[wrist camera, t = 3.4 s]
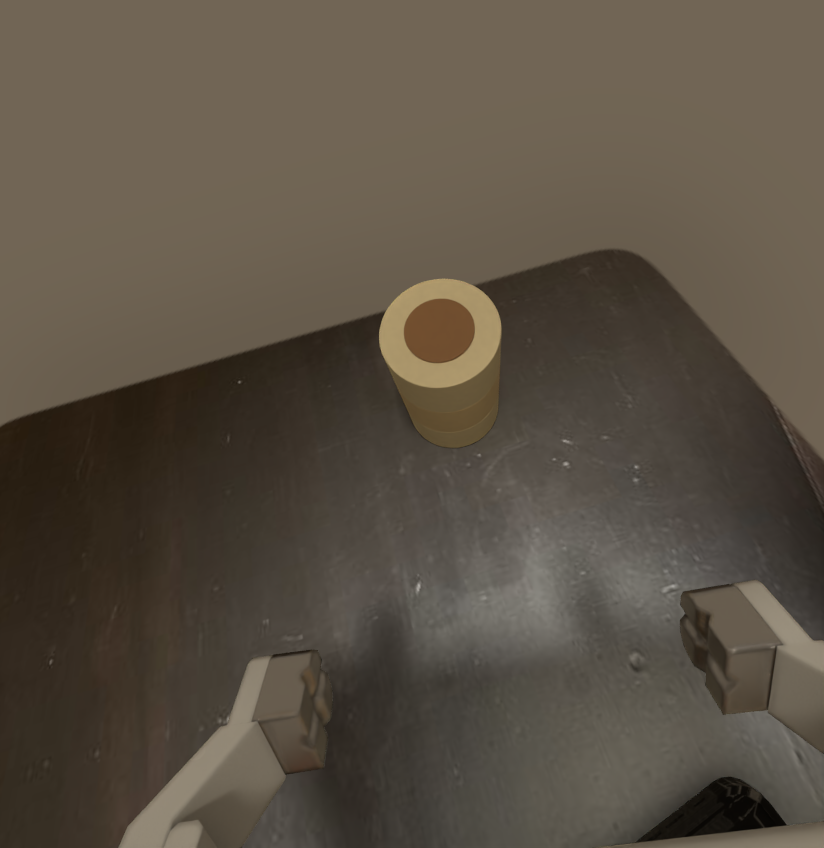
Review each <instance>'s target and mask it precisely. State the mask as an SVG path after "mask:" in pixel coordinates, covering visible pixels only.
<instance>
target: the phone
mask: <svg viewBox="0 0 824 848" xmlns="http://www.w3.org/2000/svg"><path fill="white" fill-rule="evenodd" d="M778 826H787V825H786V823H785V822H784V821H783V820H782V818H781V817H780V816H779V814H778V813H777V812H776V811H775V809H774V808H773V807H772V805H771V804H770V803H769V801H768V800H767V799H766V798H765V797H764V796H763V795H762V794H761V793H759V792H758V791H756V790H755V789H754V788H752V787H751V786H750V785H748V784H747V783H745V782H743V781H741V780H740V779H736V778H732V777H724V778H720V779H718V780H716V781H714V782H713V783H712V784H710V785H709V786H708V787H706V788H705V789H704V790H703V791H701V792H700V793H699V794H697V795H696V796H695V797H694V798H692V799H691V800H690V801H688V802H687V803H686V804H684V805H683V806H682V807H681V808H679V809H678V810H677V811H675V812H674V813H673V814H672V815H670V816H669V817H668V818H666V819H665V820H664V821H663V822H661V823H660V824H659V825H657V826H656V827H655V828H654V829H652V830H651V831H650V832H648V833H647V834H646V835H645V836H643V837H642V838H641V839H639V840H638V841H637V842H636V843H639V842H648V841H656V840H665V839H674V838H682V837H691V836H700V835H709V834H717V833H726V832H735V831H743V830H752V829H761V828H769V827H778Z"/></svg>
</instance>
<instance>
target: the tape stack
mask: <svg viewBox="0 0 824 848" xmlns="http://www.w3.org/2000/svg"><path fill="white" fill-rule="evenodd" d="M379 342H380V348H381V352H382V355H383V357H384V359H385V361H386V364H387V366H388V368H389V370H390V373H391V375H392V377H393V379H394V382H395V384H396V386H397V388H398V391H399V393H400V395H401V397H402V400H403V402H404V404H405V406H406V409H407V411H408V413H409V415H410V418H411V420H412V422H413V424H414V426H415V428H416V429H417V431H418V432H419V433H420V434H421V435H422V436H423V437H424V438H425V439H426V440H428V441H429V442H431V443H433V444H435V445H438V446H441V447H446V448H459V447H465V446H468V445H471V444H473V443H475V442H477V441H478V440H480V439H481V438H482V437H484V436H485V435H486V434H487V433H488V432H489V430H490V429H491V428H492V426H493V424H494V422H495V420H496V417H497V413H498V402H499V377H500V353H501V321H500V317H499V314H498V311H497V309H496V307H495V306H494V304H493V302H492V301H491V300H490V299H489V297H488V296H487V295H485V294H484V293H483V292H482V291H481V290H479V289H478V288H476V287H474V286H473V285H471V284H468V283H466V282H463V281H459V280H453V279H435V280H430V281H425V282H422V283H419V284H417V285H415V286H413V287H411V288H409V289H407V290H406V291H404V292H403V293H402V294H400V295H399V296H398V297H397V298H396V299H395V300H394V301H393V302H392V304H391V305H390V306H389V308H388V309H387V311H386V312H385V315H384V317H383V319H382V322H381V326H380V332H379Z"/></svg>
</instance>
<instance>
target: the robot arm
mask: <svg viewBox="0 0 824 848" xmlns="http://www.w3.org/2000/svg"><path fill="white" fill-rule="evenodd" d="M680 605H681V607H682V608H683V610H684V612H685V613H686V614H685V615H684V616H683V617H682V618H681V620H680V633H681V637H682V641H683V645H684V647H685V649H686V652H687V654H688V656H689V658H690V660H691V661H692V663H693V665H694V666H695V667H697V668H698V669H700V670H701V671H703V672H705V673H706V679H705V685H706V687H707V689H708V690H709V692H710V694H711V695H712V697H713V699H714V700H715V702H716V704H717V705H718V707H719V709H720V710H721V712H722V714H723V715H726V714H735V713H745V712H754V711H764V710H768V713H769V714H771V715H772V716H773V717H775V718H776V719H777V720H779V721H780V722H781V723H783V724H784V725H785V726H787V727H788V728H789V729H791V730H792V731H793V732H795V733H796V734H797V735H799V736H800V737H801V738H803V739H804V740H805V741H807V742H808V743H809V744H811V745H812V746H813V747H815V748H816V749H817V750H819V751H820V752H822V753H823V754H824V641H822V640H817V641H813V640H812V639H811V638H810V636H809V635H808V634H807V633H806V632H805V631H804V630H803V629H802V627H801V626H800V625H799V624H798V623H797V622H796V621H795V620H794V618H793V617H792V616H791V615H790V614H789V613H788V612H787V611H786V610H785V608H784V607H783V606H782V605H781V604H780V603H779V602H778V601H777V599H776V598H775V597H774V596H773V595H772V594H771V593H770V592H769V590H768V589H767V588H766V587H765V586H764V585H763V584H762V583H761V582H759V581H757V580H752V581H746V582H739V583H733V584H726V585H720V586H714V587H708V588H702V589H696V590H690V591H684V592H683V593H682V595H681V600H680ZM321 664H322V658H321V656H320V654H319V652H318V650H306V651H298V652H290V653H282V654H274V655H269V656H262V657H254V658H252V659H251V661H250V662H249V663H248V665H247V668H246V671H245V673H244V676H243V679H242V682H241V685H240V688H239V691H238V694H237V697H236V700H235V703H234V706H233V709H232V712H231V715H230V718H229V720H228V723H227V725H226V726H220V728H219V729H218V730H217V731H216V732H215V733H214V734H213V735H212V736H211V737H210V738H209V739H208V741H207V742H206V743H205V744H204V745H203V746H202V747H201V748H200V749H199V750H198V751H197V752H196V753H195V755H194V756H193V757H192V758H191V759H190V760H189V761H188V762H187V763H186V764H185V765H184V766H183V768H182V769H181V770H180V771H179V772H178V773H177V774H176V775H175V776H174V777H173V778H172V779H171V780H170V782H169V783H168V784H167V785H166V786H165V787H164V788H163V789H162V790H161V791H160V792H159V793H158V795H157V796H156V797H155V798H154V799H153V800H152V801H151V802H150V803H149V804H148V805H147V806H146V807H145V809H144V810H143V811H142V812H141V813H140V814H139V815H138V816H137V817H136V818H135V819H134V820H133V822H132V823H131V824H130V825H129V826H128V827H127V830H126V832H125V834H124V836H123V839H122V841H121V843H120V845H119V848H242V846H243V845H244V843H245V841H246V840H247V838H248V837H249V835H250V834H251V832H252V830H253V829H254V827H255V826H256V824H257V823H258V821H259V819H260V818H261V816H262V815H263V813H264V811H265V810H266V808H267V807H268V805H269V804H270V802H271V800H272V799H273V797H274V796H275V794H276V793H277V791H278V789H279V788H280V786H281V785H282V783H283V782H284V780H285V778H286V775H287V774H293V773H299V772H305V771H311V770H317V769H323V768H324V763H325V757H326V750H327V744H328V735H327V733H326V731H325V728H324V727H325V725H326V724H327V723H328V721H329V720H330V719H331V716H332V709H333V690H332V685H331V681H330V678H329V675H328V673H327V672H325V671H323V670H322V669H321ZM595 848H824V821H821V822H813V823H804V824H795V825H787V826H778V827H769V828H761V829H752V830H743V831H735V832H726V833H717V834H709V835H700V836H691V837H682V838H674V839H665V840H656V841H648V842H639V843H630V844H621V845H613V846H604V847H595Z"/></svg>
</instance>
